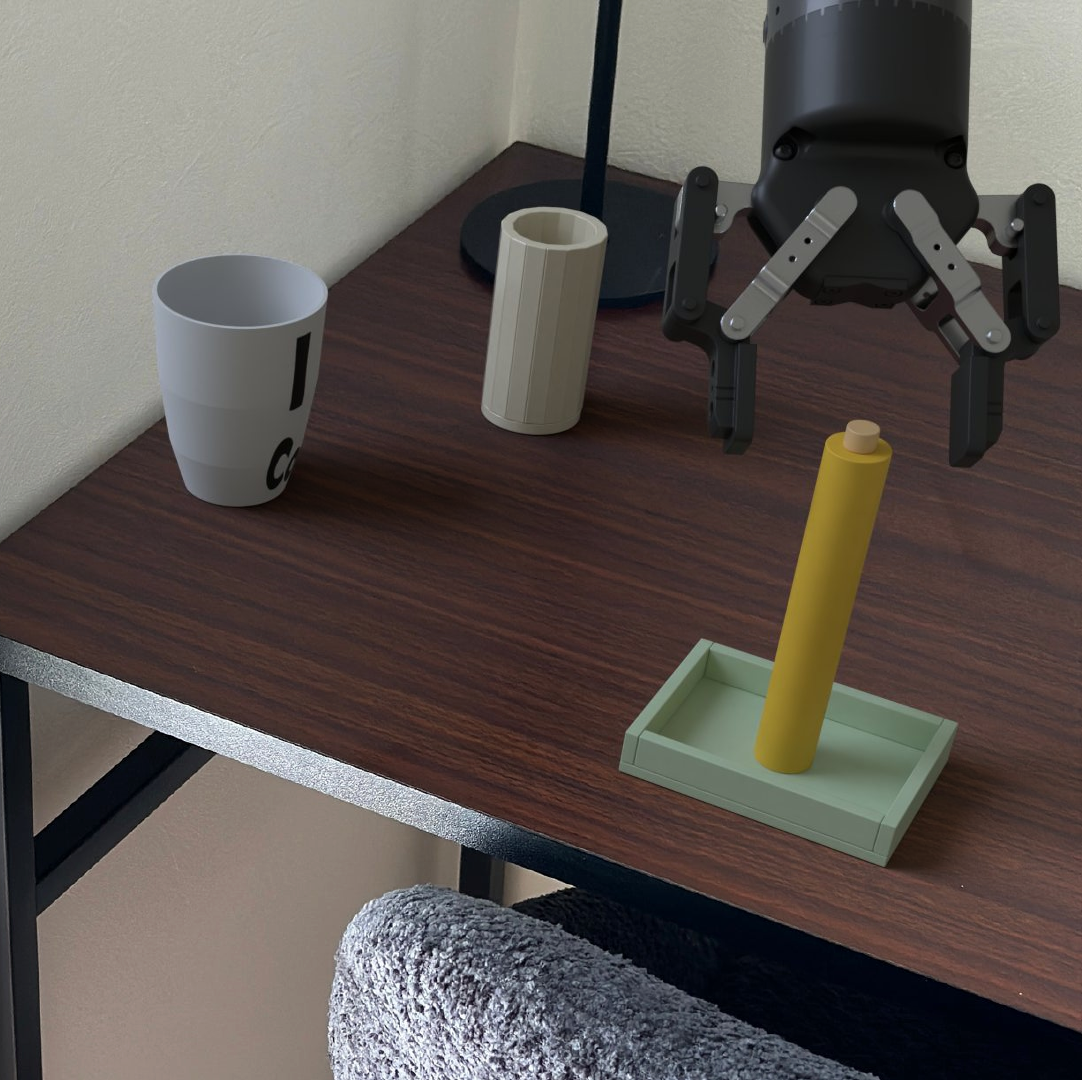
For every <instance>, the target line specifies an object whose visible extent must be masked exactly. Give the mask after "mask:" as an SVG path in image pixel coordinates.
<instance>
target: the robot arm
mask: <svg viewBox="0 0 1082 1080" xmlns="http://www.w3.org/2000/svg"><path fill="white" fill-rule="evenodd" d="M972 23H973V0H766V14H765V17H764V20H763V25H762V43H763V44H764V45H763V46H764V71H763V73H764V74H763V99H762V123H761V124H762V126H761V127H762V128H761V152H760V171H759V175H758V178H757V180H756V182H755V183H747V182H737V181H727V180H719V176H718V174H717V173H716V171H715V170H714V169H712V168H711V167H709V166H707V165H706V166H705V165H700V166H696V167H694V168H692V169H691V170H690V171H689V173H688V174H687V176H686V178H685V179H684V182H683V184H682V187H681V188H680V190H679V193H678V195H677V197H676V199H675V202H674V205H673V211H672V222H671V232H670V240H669V241H670V242H669V251H668V259H667V268H666V279H665V289H664V297H663V309H662V317H661V332H662V335H664V337H665V338H666V339H667V340H669V341H671V342H675V343H681V342H687V343H689V344H692V345H694V346H697V347H698V348H700V349H701V350H702V351H703V352H704V353H705V354H706V356H707V358H708V362H709V364H708V365H709V366H708V367H709V369H708V391H707V392H708V393H707V399H708V400H707V414H706V415H707V418H706V426H707V429H708V432H709V434H710V438H711V439H718V440H719V439H720V440H722V452H723V453H722V454H723V455H731V456H732V455H733V456H734V455H735V456H743V455H744V454H746V452H747V450H748V449H749V448H750V446H752V443H753V439H754V432H755V413H756V411H755V410H756V386H757V363H758V361H757V360H758V359H757V358H758V343H751V338H752V337H753V336H754V335H755V334H756V333H757V331H759V329H760V328H761V327H762V326H763V325H764V324H765V323H766V322H767V321H768V320H769V318H771V317H772V316H773V314H774V313H775V312H776V310H777V309H778V308H779V307H780V306H781V305H782V304H783V302H784V301H785V300H786V299H787V298H788V297H789V295H790V294H791V293H792V292H793V291H795V292H796V293H797V294H798V295H800V296H801V297H803V298H805V299H807V300H809V305H810V306H820V307H821V306H822V307H833V306H838V305H842V304H847V303H854V304H858V305H860V306H863V307H867V308H870V309H877V310H878V309H881V310H893V309H894V308H895V306H897V305H899V304H902V303H905V304H906V306H908V309H910V311H911V312H912V313H913V315H914V316H915V317H916V319H917V320H918V321H919V323H920V324H921V326H922V327H923V328H924V329H925V330H927V332H932V333H934V335H936V337H938V339H939V340H940V342H941V343H942V344H943V346H944V347H945V348H946V350H947V351H948V353H949V354H950V355H951V357H952V358H953V360H954V361H955V363H957V365H958V367H957V369H956V370H955V371H954V372H953V373H952V374H951V375H950V402H949V403H950V405H949V406H950V407H949V437H948V438H949V439H948V442H949V443H948V446H949V447H948V464H949V467H951V468H961V469H962V468H965V469H970V468H972V467H973V466H975V465H976V464H978V462H979V461H981V460H982V459H983V458H984V456H985V454H986V452H987V451H988V450H990V449H991V448H992V447H993V446H994V445H995V444H997V443H998V440H999V438H1000V437H1001V434H1002V433H1003V429H1004V426H1003V425H1004V393H1005V391H1004V388H1005V366H1006V363H1008V362H1011V361H1015V360H1017V361H1026V360H1028V359H1030V358H1032V357H1033V356H1034V355H1035V354H1037V352H1038V351H1039V350H1040V348H1041V347H1042V346H1043V345H1045V343H1047V342H1049V341H1050V340H1051V339H1052V338H1054V337H1055V336H1056V335H1057V334H1058V332H1059V331H1060V328H1061V306H1060V305H1061V303H1060V277H1059V276H1060V275H1059V251H1058V226H1057V203H1056V202H1057V197H1056V194H1055V192H1054V190H1053V188H1052V187H1050V186H1049V185H1048V184H1045V183H1041V182H1036V183H1033V184H1031V185H1029V186H1027V187H1026V188H1025V190H1024V191H1023V192H1022V193H1020V194H1019V193H1018V194H978V193H977V191H976V189H975V188H974V186H973V183H972V182H971V179H970V175H969V172H968V153H969V129H970V128H969V126H970V125H969V124H970V123H969V122H970V121H969V120H970V92H971V91H970V90H971V62H972V61H971V60H972V59H971V58H972V29H973V28H972V26H973V25H972ZM740 218H746V221H747V223H748V227H750V229H751V230H752V232H753V233H754V235H755V236H756V238H757V239H758V241H759V242H760V243H761V246H762V247H763V248H764V249H765V251H766V252H767V254H768V255H769V256H770V259H769V260H768V261H767V263H766V264H765V265H764V266H763V267H762V269H761V270H760V271H759V273H757V275H756V276H755V278H754V279H753V280H752V281H751V283H750V284H749V285H748V286H747V287H746V288H745V289H744V291H743V292H742V293H741V294H740V296H738V298H736V300H735V301H734V302H733V304H732V305H730V307H729V308H726V307H725V306H721V305H719V304H717V303H714V302H712V301H709V300H708V299H707V298H708V289H709V277H710V269H711V262H712V261H711V260H712V250H713V243H718V242H719V241H722V240H723V239H724V238H725V237H726V235H727V233H728V232H729V230H730V228H731V227H732V224H733V221H735V220H736V219H740ZM971 229H976V230H978V231H980V232H981V234H982V235H984V237H985V240H986V245H987V247H988V249H989V251H990V252H991V254H993V255H995V256H996V257H997V256H998V257H1001V274H1002V275H1001V277H1002V301H1003V302H1002V303H1003V305H1002V306H1003V319H1002V318H1001V316H1000V315H999V313H998V312H997V311H996V309H995V308H994V306H992V304H991V303H990V302H989V300H988V299H987V297H986V296H985V294H984V292H983V290H982V281H981V280H980V277H979V275H978V273H977V272H976V271H975V269H974V268H973V267H972V266H971V265H970V263H969V262H968V260H967V259H966V257H965V256H964V255H963V253H962V252H961V250H960V249H959V248H958V247H957V246H958V244H959V243H960V242H961V241H962V239H964V237H965V236H966V235H967V233H968V232H969V231H970V230H971Z"/></svg>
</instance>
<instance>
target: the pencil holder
mask: <svg viewBox="0 0 1082 1080" xmlns="http://www.w3.org/2000/svg"><path fill="white" fill-rule="evenodd" d="M608 233H609V232H608V228H607V226H606V225H605V224H604V223H603V222H602V221H601V220H600V219H598V218H597V217H595V216H593V215H590V214H588V213H585V212H583V211H580V210H576V209H570V208H565V207H553V206H537V207H528V208H521V209H519V210H516V211H513V212H511V213H508V214H507V215H506V216H505V217H504V218H503V219H502V220H501V223H500V232H499V239H498V249H497V257H496V266H495V273H494V274H495V275H494V282H493V283H494V284H493V292H492V301H491V308H490V318H489V327H488V336H487V345H486V354H485V360H484V361H485V362H484V371H483V379H482V389H481V403H480V409H481V413H482V415H483V416H484V418H485V419H486V420H487V421H489V422H490V423H491V424H493V425H495V426H497V427H498V428H501V429H504V430H506V431H510V432H512V433H517V434H524V435H536V436H543V435H553V434H558V433H562V432H564V431H565V432H566V431H568V430H569V429H571V428H573V427H574V426H576V425H577V423H578V422H580V419H581V415H582V409H583V406H584V399H585V393H586V387H587V379H588V373H589V366H590V360H591V359H590V358H591V353H592V345H593V340H594V331H595V327H596V326H595V325H596V318H597V312H598V305H599V298H600V293H601V284H602V278H603V271H604V266H605V265H604V264H605V258H606V251H607V245H608V237H609V234H608Z"/></svg>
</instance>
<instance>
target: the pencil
mask: <svg viewBox="0 0 1082 1080" xmlns="http://www.w3.org/2000/svg"><path fill="white" fill-rule="evenodd" d="M880 435H881V427H880V426H879V425H878V424H877V423H875V422H873V421H870V420H865V419H853V420H850V421H849V422H848V424H846V428H845V431H841V432H836V433H834V434H831V435H829V437H828V438H827V439H826V441H825V444H824V448H823V452H822V457H821V461H820V465H819V469H818V474H817V478H816V481H815V486H814V490H813V495H812V499H811V504H810V508H809V511H808V516H807V520H806V525H805V529H804V533H803V538H802V542H801V547H800V550H799V551H800V552H799V555H798V559H797V563H796V568H795V571H794V576H793V580H792V585H791V589H790V593H789V597H788V601H787V607H786V610H785V614H784V618H783V619H784V620H783V623H782V628H781V632H780V637H779V641H778V645H777V650H776V652H775V656H774V661H773V662H774V666H773V670H772V674H771V679H770V683H769V687H768V691H767V696H766V700H765V704H764V709H763V713H762V717H761V721H760V726H759V730H758V734H757V739H756V743H755V747H754V756H755V758H756V760H757V761H758V762H759V763H760V764H761V765H762V766H764V767H765V768H767V769H769V770H772V771H775V772H778V773H784V774H796V773H801V772H804V771H806V770H807V769H809V768H810V767H811V765H812V763H813V760H814V756H815V752H816V748H817V744H818V741H819V737H820V733H821V729H822V725H823V721H824V717H825V713H826V709H827V706H828V702H829V698H830V694H831V690H832V686H833V682H835V678H836V674H837V671H838V666H839V662H840V659H841V655H842V651H843V647H844V644H845V640H846V635H847V631H848V627H849V624H850V620H851V617H852V612H853V608H854V604H855V600H856V596H857V592H858V589H859V585H860V581H861V577H862V573H863V570H864V565H865V561H866V557H867V554H868V551H869V547H870V541H871V538H872V534H873V531H874V526H875V524H876V523H875V522H876V519H877V514H878V510H879V507H880V504H881V499H882V495H883V491H884V487H885V484H886V480H887V476H888V472H889V468H890V465H891V461H892V457H893V449H892V447H891V445H890V444H889V443H888V442H887V441H886V440H884V439H883V438H880Z"/></svg>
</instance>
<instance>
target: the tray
mask: <svg viewBox="0 0 1082 1080" xmlns="http://www.w3.org/2000/svg"><path fill="white" fill-rule="evenodd" d="M773 666H774V661H772V660H769V659H766V658H763V657H761V656H757V655H754V654H751V653H748V652H746V651H742V650H739V649H736V648H733V647H731V646H727V645H725V644H721V643H718V642H714V641H713V640H709V639H706V638H700V640H699V641H698V642H697V643H696V644H695V646H693V648H692V649H691V651H690V652H689V653H688V654H687V656H686V657H685V658H684V659H683V661H681V663H680V664H679V665H678V667H677V668H676V669H675V670H674V672H673V673H672V674H671V675H670V677H668V679H667V680H666V681H665V683H663V685H662V686H661V687H660V689H659V690H658V691H657V692H656V694H655V695H654V696H653V697H652V698H651V700H649V702H648V703H647V705H646V706H645V707H644V709H643V710H641V712H640V714H638V716H637V717H636V718H635V720H634V721H633V722H632V723H631V725H630V726H629V727H628V728H627V729H626V731H625V732H624V733H625V734H624V739H623V744H622V750H621V755H620V761H619V766H618V771H619V772H622V773H624V774H627V775H630V776H632V777H636V778H638V779H641V780H644V781H646V782H649V783H652V784H654V785H657V786H660V787H663V788H665V789H669V790H670V791H674V792H676V793H679V794H682V795H685V796H687V797H691V798H692V799H695V800H698V801H702V802H704V803H707V804H710V805H713V806H715V807H718V808H720V809H723V810H726V811H728V812H731V813H734V814H736V815H739V816H743V817H745V818H747V819H751V820H753V821H756V822H759V823H760V824H761V823H762V824H764V825H767V826H770V827H772V828H776V829H778V830H781V831H784V832H785V833H789V834H792V835H794V836H797V837H800V838H802V839H806V840H809V841H811V842H814V843H816V844H819V845H822V846H824V847H828V848H831V849H833V850H835V851H838V852H840V853H844V854H846V855H850V856H852V857H854V858H858V859H861V860H863V861H866V862H869V863H871V864H874V865H877V866H880V867H881V868H885V867H886V866H887V865H888V862H889V861H890V859H891V857H892V856H893V854H894V852H895V850H896V849H897V848H898V846H899V844H900V842H901V841H902V838H904V835H905V834H906V832H907V830H908V829H909V827H910V825H911V824H912V823H913V820H914V819H915V817H916V815H917V813H918V812H919V810H920V808H921V807H922V805H923V803H924V802H925V800H926V798H927V797H928V795H929V793H930V791H931V790H932V788H933V787H934V785H935V783H936V781H937V780H938V778H939V776H940V775H941V774H942V771H943V769H945V766H946V764H947V762H948V760H949V758H950V754H951V750H952V748H953V744H954V741H955V737H956V734H957V731H958V729H959V724H960V723H959V722H957V721H954V720H950V719H948V718H944V717H941V716H938V715H935V714H933V713H929V712H926V711H924V710H920V709H917V708H914V707H911V706H909V705H905V704H902V703H899V702H896V701H893V700H889V699H887V698H883V697H881V696H878V695H875V694H872V693H869V692H866V691H863V690H860V689H857V688H854V687H850V686H848V685H845V684H841V683H838V682H836V681H834V682H833V686H832V690H831V694H830V698H829V702H828V706H827V709H826V713H825V717H824V721H823V725H822V729H821V733H820V737H819V741H818V744H817V748H816V752H815V756H814V760H813V763H812V765H811V767H810V768H809V769H807V770H806V771H804V772H801V773H796V774H784V773H778V772H775V771H772V770H769V769H767V768H765V767H764V766H762V765H761V764H760V763H759V762H758V761H757V760H756V758H755V756H754V747H755V743H756V739H757V734H758V730H759V726H760V721H761V717H762V713H763V709H764V704H765V700H766V696H767V691H768V687H769V683H770V679H771V674H772V670H773Z"/></svg>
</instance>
